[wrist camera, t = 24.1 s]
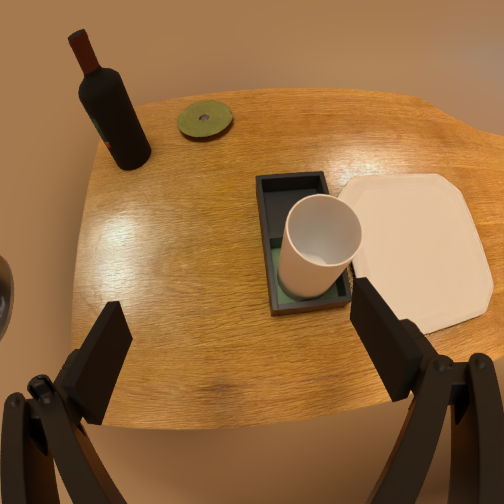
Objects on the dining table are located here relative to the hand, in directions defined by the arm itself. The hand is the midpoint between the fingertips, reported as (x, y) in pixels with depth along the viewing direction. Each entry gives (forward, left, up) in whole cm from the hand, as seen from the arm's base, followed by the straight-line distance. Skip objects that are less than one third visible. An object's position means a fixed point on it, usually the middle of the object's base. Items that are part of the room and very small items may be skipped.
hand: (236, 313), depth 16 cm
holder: (+9, +15, -28) cm, 33 cm away
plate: (+31, +12, -28) cm, 43 cm away
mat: (-5, +44, -28) cm, 52 cm away
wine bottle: (-20, +38, -28) cm, 51 cm away
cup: (+9, +9, -27) cm, 30 cm away
